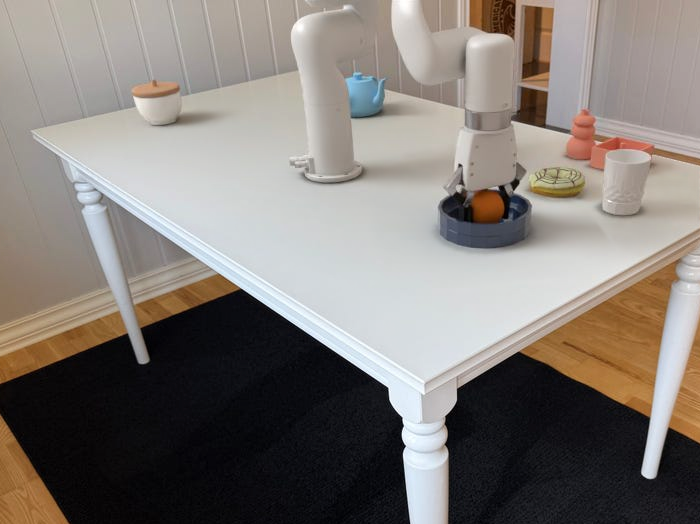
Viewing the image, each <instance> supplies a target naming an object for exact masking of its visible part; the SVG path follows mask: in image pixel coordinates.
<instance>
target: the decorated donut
mask: <svg viewBox="0 0 700 524" xmlns="http://www.w3.org/2000/svg"><path fill="white" fill-rule="evenodd" d="M528 179H529V189H530V190H531V192H532V193H534V194H537V195H541V196H544V197H549V198H558V199H561V198H570V197H576V196H578V195H579V194H580V193H581V192H582V190H584V187H585V184H586V176H585V174H584V173H583V172H581V171H580V170H579V169H575V168H573V167H562V166H561V167H560V166H551V167H545V168H541V169H539V170H537V171H535V172H533V173H532V174H530V176H529V178H528Z"/></svg>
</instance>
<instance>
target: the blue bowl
mask: <svg viewBox="0 0 700 524" xmlns="http://www.w3.org/2000/svg"><path fill="white" fill-rule="evenodd" d="M488 189H489V190H492V191H494V192H496V193H499V192H500V190H499V188H488ZM466 194H467V193H466ZM465 196H466V195H465ZM532 210H533V204H532V203H531V202H530V200H529V199H528V198H526V197H525V196H523V195H521V194H519V193H516V192H514V195H513V196H512V197H510V211H509V218H508V219H506V220H505V219H503V218H502V219H501V220H500V222H499V223H491V224H482V223H470V222H464V221H460V220H459V203H458V202H457V201H456V200H455V199H453V198H452V197H451V196H450V194H448V195H446V196H445V197H444V198H442V199H441V200H440V201H439V203H438V205H437V230H438V232H439V235H440V236H441V237H442V238H443V239H445V240H446V241H448V242H451V243H453V244H455V245H457V246H463V247H468V248H475V249H477V248H479V249H492V248H502V247H507V246H512V245H514V244H517V243H519V242H521V241H523V240H525V239H526V238H527V237H528V236H529V235H530V234H531V226H532V225H531V224H532Z"/></svg>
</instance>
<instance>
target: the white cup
mask: <svg viewBox="0 0 700 524" xmlns="http://www.w3.org/2000/svg"><path fill="white" fill-rule="evenodd" d="M650 162H651V156H650V155H649V154H648V153H646V152H643V151H639V150H632V149H619V150H613V151H610V152H608V153H607V154H606V157H605V168H604V170H603V180H602V199H601V208H602V210H603V211H604V212H606V213H608V214H611V215H614V216H633V215H635V214H637V213H638V212H639V211H640V208H641V205H642V199H643V196H644V192H645V187H646V184H647V180H648V176H649V172H650V166H651V164H650ZM651 163H652V162H651Z"/></svg>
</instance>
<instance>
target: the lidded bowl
mask: <svg viewBox="0 0 700 524" xmlns="http://www.w3.org/2000/svg"><path fill="white" fill-rule="evenodd" d="M150 81H151V82H147V83H142V84H139V85H136V86H134V87H132V88H131V90H130V91H131V92H130V93H131V95H132V98H133V101H134V104H135V107H136V109H137V112H138V113H139V114H140V116H141V117H142V118H143V119H144V120H146V121H147V122H149V124H150V125H153V126H165V125H170V124H173V123H176V122H177V118H178V117H179V116H180V114H181V112H182V106H183V105H182V104H183V103H182V95H181V94H182V93H181V87H180V84H179V83H178V82H174V81H157V79H156V78H153V79H150Z"/></svg>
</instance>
